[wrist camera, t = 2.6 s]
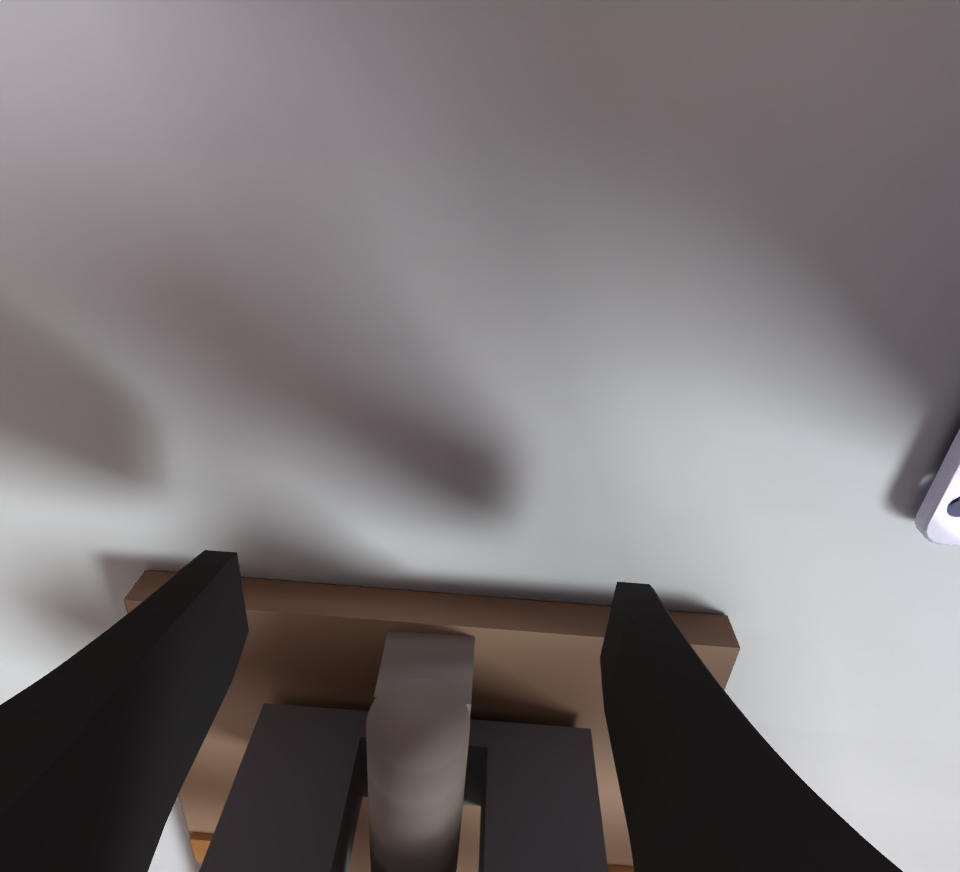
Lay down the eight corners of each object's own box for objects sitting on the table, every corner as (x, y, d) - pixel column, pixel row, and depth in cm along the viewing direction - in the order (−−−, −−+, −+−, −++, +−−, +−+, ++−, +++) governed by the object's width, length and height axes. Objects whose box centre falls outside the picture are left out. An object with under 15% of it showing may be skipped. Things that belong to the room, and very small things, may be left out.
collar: (264, 702, 16) (178, 925, 12) (590, 728, 16) (619, 959, 12) (272, 763, 17) (198, 983, 13) (576, 787, 17) (597, 1014, 13)
